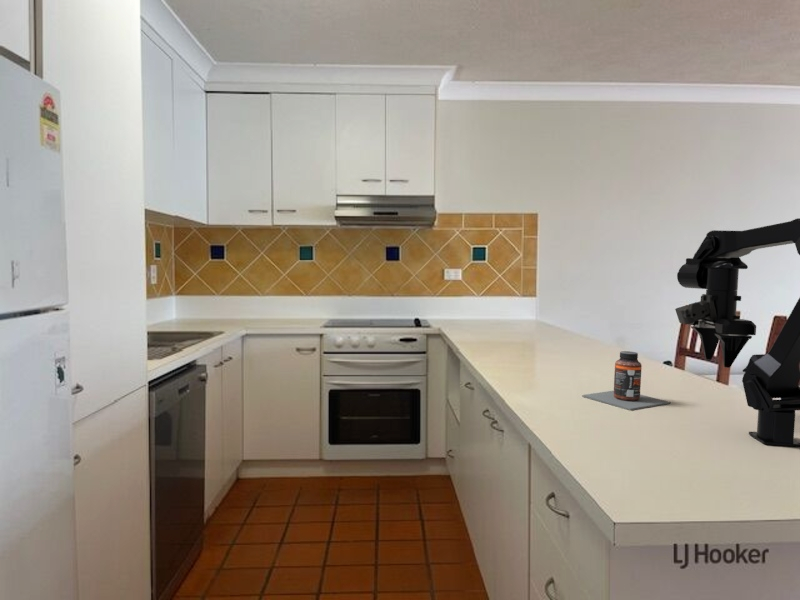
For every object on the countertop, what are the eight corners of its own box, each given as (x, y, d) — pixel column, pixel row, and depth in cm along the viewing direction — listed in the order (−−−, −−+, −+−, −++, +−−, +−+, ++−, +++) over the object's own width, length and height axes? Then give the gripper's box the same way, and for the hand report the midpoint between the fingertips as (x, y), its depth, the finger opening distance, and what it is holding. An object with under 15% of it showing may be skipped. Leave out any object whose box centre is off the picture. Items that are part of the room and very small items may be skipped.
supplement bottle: (637, 402, 128) (639, 355, 127) (610, 399, 131) (612, 352, 131) (642, 398, 133) (644, 351, 132) (616, 394, 136) (618, 349, 136)
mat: (670, 403, 130) (670, 401, 130) (630, 410, 123) (630, 408, 123) (620, 391, 142) (620, 389, 142) (582, 396, 135) (582, 395, 135)
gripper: (666, 287, 126) (662, 354, 127) (698, 291, 107) (694, 370, 109) (718, 288, 124) (714, 356, 125) (759, 293, 106) (754, 372, 107)
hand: (717, 363), depth 117 cm, fingers open, 9 cm apart
